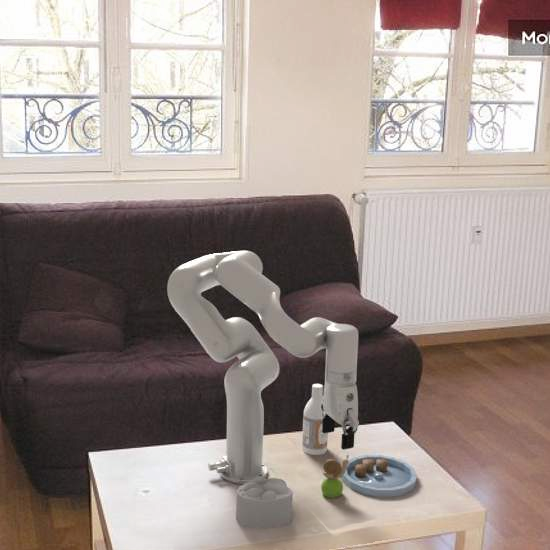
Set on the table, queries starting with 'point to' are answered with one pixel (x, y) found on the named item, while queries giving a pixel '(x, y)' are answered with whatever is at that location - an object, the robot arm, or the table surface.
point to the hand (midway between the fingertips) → (337, 440)
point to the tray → (381, 477)
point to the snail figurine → (333, 478)
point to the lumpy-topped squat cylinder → (264, 503)
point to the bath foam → (314, 424)
